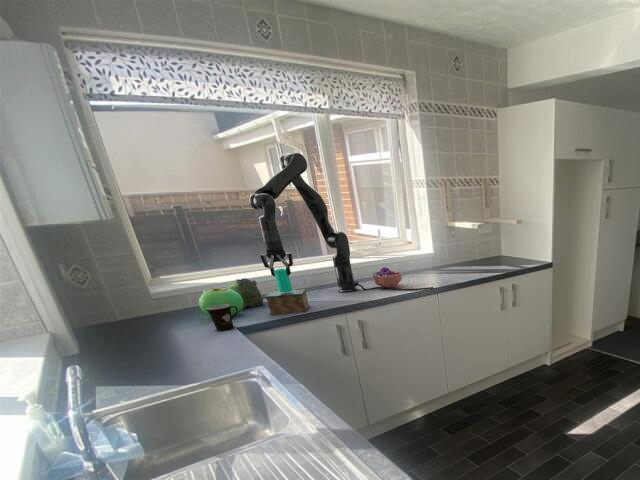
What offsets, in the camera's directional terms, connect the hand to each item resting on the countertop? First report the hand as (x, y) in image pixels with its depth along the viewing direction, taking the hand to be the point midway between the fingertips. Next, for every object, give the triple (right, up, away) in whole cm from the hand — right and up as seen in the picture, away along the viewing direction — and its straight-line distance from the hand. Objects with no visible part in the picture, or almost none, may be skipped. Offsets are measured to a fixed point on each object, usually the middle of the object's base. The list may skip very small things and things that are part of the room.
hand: (281, 275), depth 206 cm
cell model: (+38, +6, +50) cm, 63 cm away
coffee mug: (-14, -28, -17) cm, 36 cm away
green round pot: (-27, -20, +1) cm, 34 cm away
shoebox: (0, -16, +8) cm, 17 cm away
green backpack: (-28, -13, +15) cm, 35 cm away
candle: (0, -7, +3) cm, 8 cm away
